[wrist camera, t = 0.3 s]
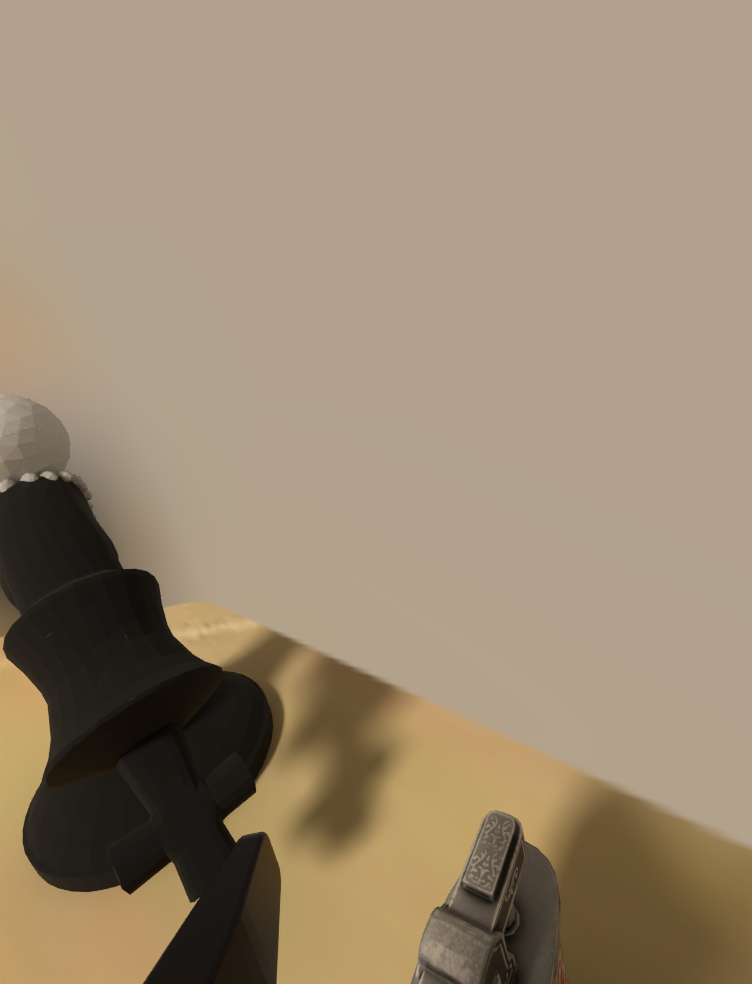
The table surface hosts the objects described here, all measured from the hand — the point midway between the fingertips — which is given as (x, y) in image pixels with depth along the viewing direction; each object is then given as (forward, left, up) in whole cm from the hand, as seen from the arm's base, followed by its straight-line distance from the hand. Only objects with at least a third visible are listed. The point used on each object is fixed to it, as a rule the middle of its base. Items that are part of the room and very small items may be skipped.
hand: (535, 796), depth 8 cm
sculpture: (+17, +16, -16) cm, 29 cm away
